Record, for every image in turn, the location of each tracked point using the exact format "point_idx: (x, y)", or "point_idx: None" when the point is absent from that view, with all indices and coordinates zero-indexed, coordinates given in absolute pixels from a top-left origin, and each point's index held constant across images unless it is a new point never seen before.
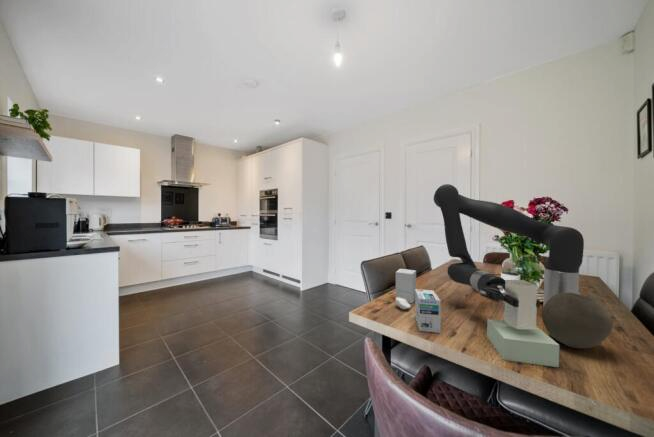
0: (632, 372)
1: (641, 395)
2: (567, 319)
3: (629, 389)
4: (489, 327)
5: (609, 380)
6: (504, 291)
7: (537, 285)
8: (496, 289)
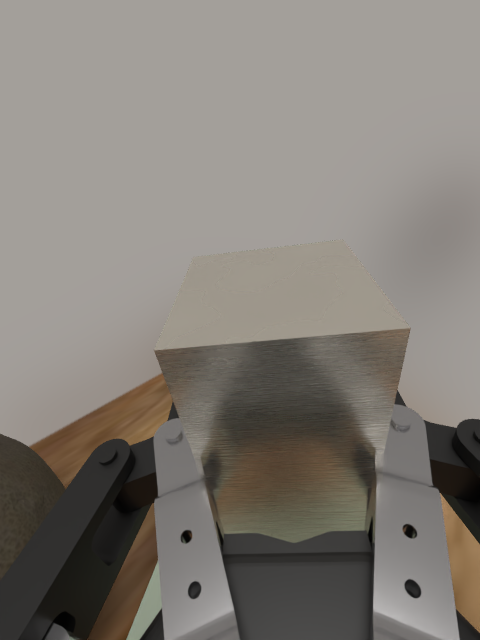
0: (59, 448)
1: (154, 383)
2: (39, 478)
3: (154, 394)
4: None
5: (158, 416)
6: (383, 470)
7: (193, 258)
8: (473, 636)
